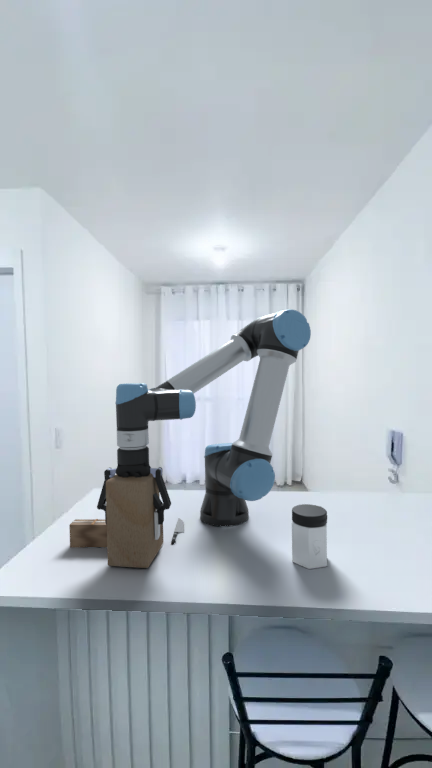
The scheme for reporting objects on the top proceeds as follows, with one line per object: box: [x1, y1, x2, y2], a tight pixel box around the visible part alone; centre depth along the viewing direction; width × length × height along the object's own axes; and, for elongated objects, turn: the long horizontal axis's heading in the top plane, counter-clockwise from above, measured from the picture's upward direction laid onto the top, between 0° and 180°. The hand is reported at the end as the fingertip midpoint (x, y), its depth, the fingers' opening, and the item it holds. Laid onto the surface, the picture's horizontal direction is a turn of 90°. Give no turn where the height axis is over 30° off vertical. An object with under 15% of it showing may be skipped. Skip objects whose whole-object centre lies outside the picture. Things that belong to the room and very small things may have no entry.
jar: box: [291, 503, 328, 570], centre depth 86 cm, size 9×8×12 cm
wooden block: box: [106, 473, 162, 569], centre depth 88 cm, size 10×10×20 cm
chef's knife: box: [170, 517, 185, 545], centre depth 105 cm, size 19×1×3 cm
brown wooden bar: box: [68, 518, 164, 548], centre depth 96 cm, size 24×4×6 cm, turn 87°
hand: (135, 537), depth 88 cm, fingers closed on wooden block, 10 cm apart
